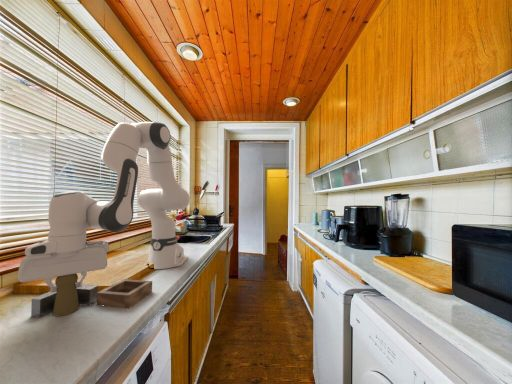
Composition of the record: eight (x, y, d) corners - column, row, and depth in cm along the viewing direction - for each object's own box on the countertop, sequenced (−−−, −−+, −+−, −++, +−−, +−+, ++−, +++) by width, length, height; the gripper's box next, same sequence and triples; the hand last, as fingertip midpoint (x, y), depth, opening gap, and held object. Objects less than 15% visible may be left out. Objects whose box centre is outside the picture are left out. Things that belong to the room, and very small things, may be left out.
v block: (36, 307, 67) (36, 290, 67) (97, 293, 76) (98, 279, 76) (29, 319, 60) (29, 301, 60) (97, 303, 69) (98, 287, 70)
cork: (64, 316, 62) (65, 278, 62) (46, 314, 62) (47, 276, 63) (84, 305, 67) (84, 270, 68) (67, 304, 68) (68, 269, 69)
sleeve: (123, 290, 80) (123, 279, 80) (151, 292, 78) (152, 281, 78) (96, 305, 68) (96, 292, 68) (128, 308, 66) (128, 295, 67)
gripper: (108, 238, 74) (108, 278, 74) (23, 246, 62) (22, 294, 62) (109, 241, 69) (108, 284, 69) (16, 250, 57) (15, 303, 57)
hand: (66, 289), depth 65 cm, fingers closed on cork, 4 cm apart
